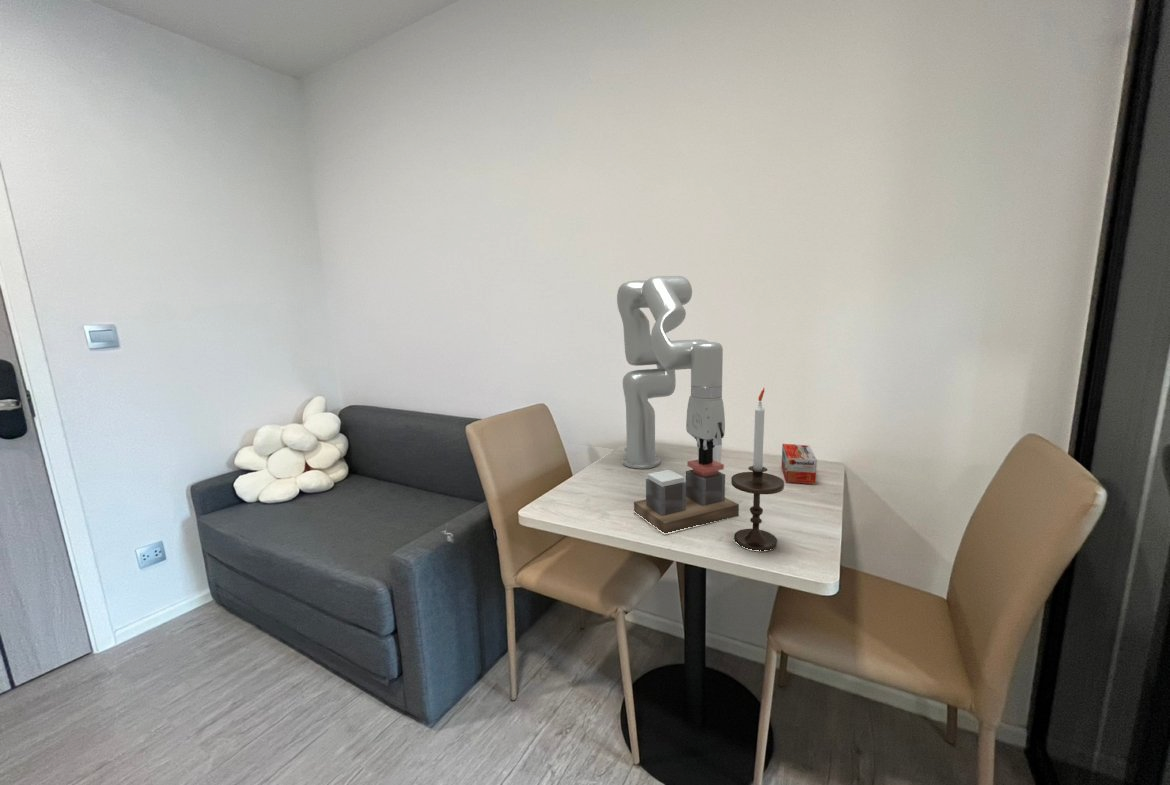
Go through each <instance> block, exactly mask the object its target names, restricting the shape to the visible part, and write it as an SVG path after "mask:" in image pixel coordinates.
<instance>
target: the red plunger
mask: <svg viewBox="0 0 1170 785" xmlns="http://www.w3.org/2000/svg"><path fill="white" fill-rule="evenodd" d="M686 464H687V467H688V468H691V469H692V470H693V473H695V474H697V475H699V476H702V477H708V476H713V475H717V474H718V470H720V471H721V470H724V468H725V467H724V466H725V465H724V464H723V463H722V462H720V463H719V462H717V461H714V460H713V462H712V463H711V464H706V465H702V464H700V463H699V459H698V458H697V459H693V460H688V461H686Z"/></svg>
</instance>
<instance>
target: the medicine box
mask: <svg viewBox="0 0 1170 785" xmlns="http://www.w3.org/2000/svg"><path fill="white" fill-rule="evenodd" d="M781 445H782V448H781V449H782V450H781V469H782V473H783V477H784V480H785V481H784V482H785V483H786V484H796V485H797V484H804V485H812V486H816V482H817V481H816V480H817V466H818V465H817V464H818V462H817V461H818V460H817V458H816V455H815V454H814V452H813V450H812V448H811V446H810V445H809V444H791V443H782V444H781Z"/></svg>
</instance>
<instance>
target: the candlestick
mask: <svg viewBox="0 0 1170 785" xmlns="http://www.w3.org/2000/svg"><path fill="white" fill-rule="evenodd" d="M764 393H765V387H763V388H762V390H761V392H760V393H759V396H758V404H757V407H755V408H754V429H753V430H754V431H753V432H754V435H753V465H752V466H748V467H747V469H748V470H749V471H743V472H738V473H735V474H733V475H732V476H731V480H730V483H731V486H732V487H733V488H734V489H736V490H739V491H741V492H744V493H748V494H753V504H752V506H751V507H750V508H749V512H750V514H751V515H752V517H750V519H749V521H750V522H751V523H752V528H743V529H740V530H737V531H736V532H735V533H734V534H733V539H734V540H735V541H734V543H735V542H737V543H738V544H739V545H740V546H743V547H745V548H748V549H752V550H759V551H760V550H761V551H764V550H770V549H773V548H775V547H776V546H778V538H777V537H776V536H775V535H774V534H772V533H771V532H768V531H766V530H763V529H760V524H762V522H763V520H762V519H761V516H762V514H764V509H763V508H762V507H761V495H774V494H778V493H782V491H784V489H785V481H784V480H783V479H782V478H781V477H779V476H778V475H775V474H770V473H768V468H767V467H765V466H764V465H763V461H764V460H763V459H764V434H765V432H764V431H765V407H763V404H762V400H763V397H764ZM766 472H767V473H766ZM740 546H739V547H740ZM776 548H777V547H776ZM776 548H775V549H776ZM773 550H774V549H773Z"/></svg>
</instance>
